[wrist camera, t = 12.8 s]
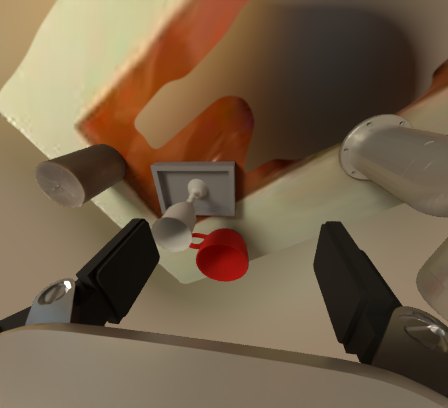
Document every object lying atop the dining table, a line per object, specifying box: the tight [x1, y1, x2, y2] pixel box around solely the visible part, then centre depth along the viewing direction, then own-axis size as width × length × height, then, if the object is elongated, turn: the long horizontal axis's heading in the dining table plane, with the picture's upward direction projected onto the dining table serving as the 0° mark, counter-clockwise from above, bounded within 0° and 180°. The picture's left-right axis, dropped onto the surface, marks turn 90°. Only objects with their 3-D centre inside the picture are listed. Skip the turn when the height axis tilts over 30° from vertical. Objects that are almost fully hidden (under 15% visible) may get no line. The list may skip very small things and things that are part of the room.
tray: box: [151, 162, 236, 216], centre depth 45 cm, size 19×13×3 cm
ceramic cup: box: [189, 228, 249, 281], centre depth 49 cm, size 13×17×10 cm
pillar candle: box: [34, 144, 126, 208], centre depth 40 cm, size 10×10×15 cm
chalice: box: [151, 179, 208, 252], centre depth 38 cm, size 7×7×18 cm
